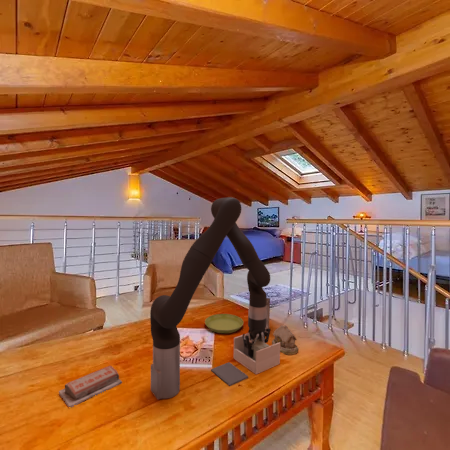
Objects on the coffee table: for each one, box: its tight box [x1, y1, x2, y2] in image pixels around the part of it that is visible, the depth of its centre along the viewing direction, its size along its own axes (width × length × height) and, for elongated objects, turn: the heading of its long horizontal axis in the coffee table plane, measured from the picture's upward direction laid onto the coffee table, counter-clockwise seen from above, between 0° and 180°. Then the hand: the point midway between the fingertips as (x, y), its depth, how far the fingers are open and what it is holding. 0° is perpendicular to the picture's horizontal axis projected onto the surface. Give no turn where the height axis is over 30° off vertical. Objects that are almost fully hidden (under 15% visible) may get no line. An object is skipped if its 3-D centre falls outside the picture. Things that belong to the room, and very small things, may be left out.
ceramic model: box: [271, 325, 299, 356], centre depth 134 cm, size 14×11×10 cm
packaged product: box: [58, 365, 123, 408], centre depth 102 cm, size 18×5×10 cm
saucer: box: [204, 313, 244, 334], centre depth 155 cm, size 21×21×3 cm
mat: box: [210, 361, 249, 387], centre depth 112 cm, size 9×12×1 cm
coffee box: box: [266, 297, 271, 329], centre depth 151 cm, size 9×6×16 cm
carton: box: [233, 334, 281, 375], centre depth 121 cm, size 13×14×9 cm
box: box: [244, 340, 270, 361], centre depth 121 cm, size 5×10×7 cm, turn 36°
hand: (256, 354), depth 121 cm, fingers closed on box, 5 cm apart
